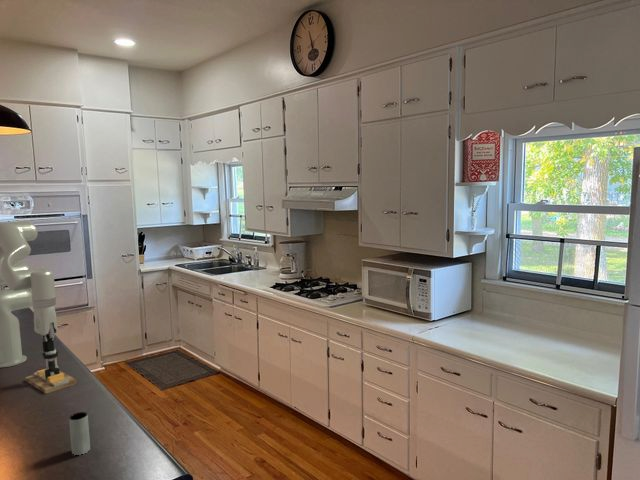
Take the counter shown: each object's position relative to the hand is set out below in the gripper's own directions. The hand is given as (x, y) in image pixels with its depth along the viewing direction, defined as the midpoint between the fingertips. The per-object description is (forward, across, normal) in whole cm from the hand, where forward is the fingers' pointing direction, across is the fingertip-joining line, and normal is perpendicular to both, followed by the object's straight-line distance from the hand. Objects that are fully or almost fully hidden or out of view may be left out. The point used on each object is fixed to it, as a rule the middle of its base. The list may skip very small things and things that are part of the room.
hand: (48, 350), depth 176 cm
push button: (+10, -1, 0) cm, 10 cm away
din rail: (+11, 0, 0) cm, 11 cm away
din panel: (+12, 0, 0) cm, 12 cm away
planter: (+13, +58, -15) cm, 62 cm away
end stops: (+10, 0, 0) cm, 10 cm away
